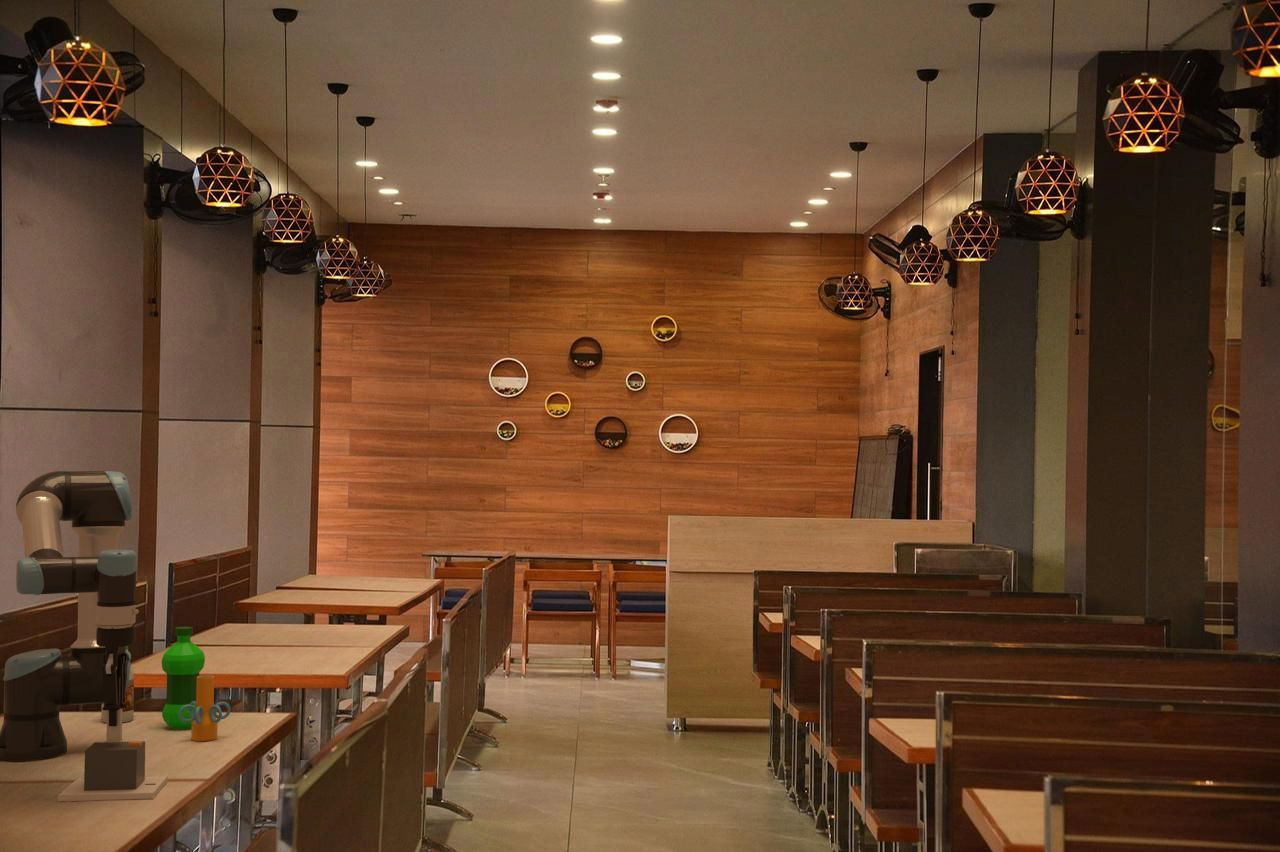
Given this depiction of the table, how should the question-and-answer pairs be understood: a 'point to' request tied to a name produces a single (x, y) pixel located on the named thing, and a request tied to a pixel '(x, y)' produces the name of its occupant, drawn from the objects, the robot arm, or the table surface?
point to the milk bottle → (129, 700)
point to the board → (114, 791)
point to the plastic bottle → (181, 677)
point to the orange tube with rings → (204, 711)
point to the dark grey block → (114, 766)
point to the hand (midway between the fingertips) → (114, 740)
